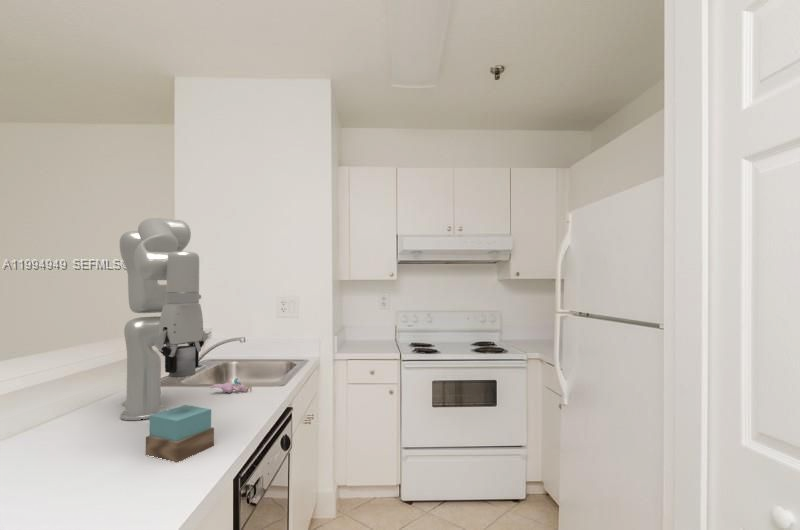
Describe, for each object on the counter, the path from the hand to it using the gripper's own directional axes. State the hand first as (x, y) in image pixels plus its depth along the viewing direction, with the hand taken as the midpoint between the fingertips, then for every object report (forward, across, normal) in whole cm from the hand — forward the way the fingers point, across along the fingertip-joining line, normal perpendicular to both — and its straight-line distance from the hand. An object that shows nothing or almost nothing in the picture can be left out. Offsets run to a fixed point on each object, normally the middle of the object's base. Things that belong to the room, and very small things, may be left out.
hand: (182, 369), depth 109 cm
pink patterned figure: (+21, -49, -31) cm, 61 cm away
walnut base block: (+21, 0, -1) cm, 21 cm away
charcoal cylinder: (+1, 0, 0) cm, 1 cm away
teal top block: (+16, 0, -1) cm, 16 cm away
